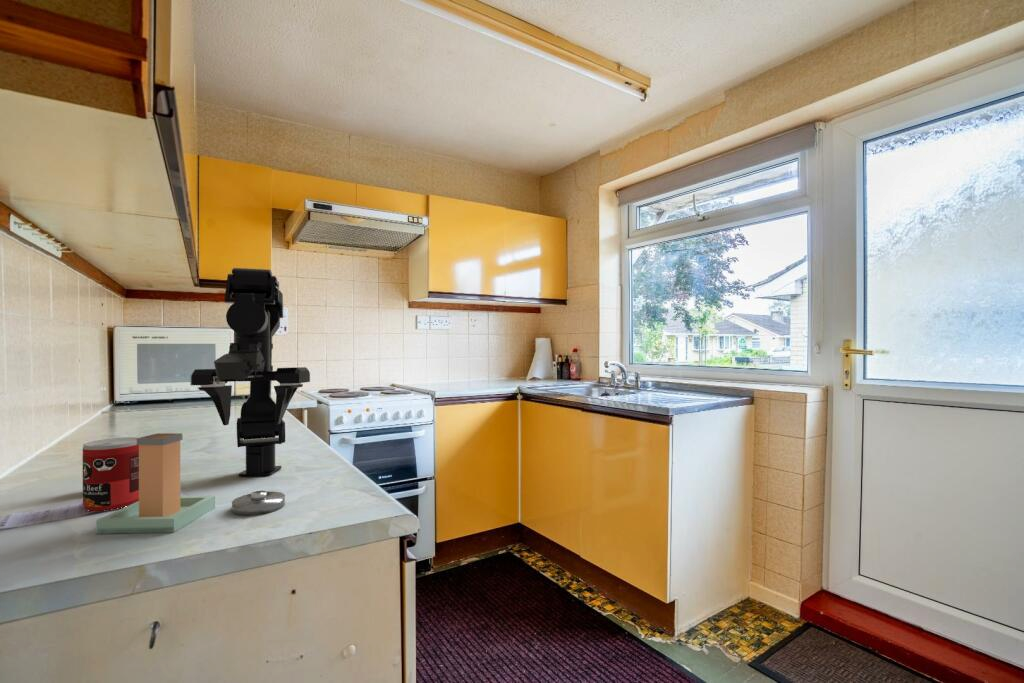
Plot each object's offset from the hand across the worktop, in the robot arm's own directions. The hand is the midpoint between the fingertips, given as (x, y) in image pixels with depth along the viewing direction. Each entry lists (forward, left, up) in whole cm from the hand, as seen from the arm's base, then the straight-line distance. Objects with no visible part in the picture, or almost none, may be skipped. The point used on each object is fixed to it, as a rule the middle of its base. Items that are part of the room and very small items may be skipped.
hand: (252, 424), depth 88 cm
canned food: (+2, -23, -14) cm, 26 cm away
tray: (+10, -10, -13) cm, 19 cm away
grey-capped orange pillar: (+10, -10, -13) cm, 19 cm away
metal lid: (+5, +3, -13) cm, 15 cm away
